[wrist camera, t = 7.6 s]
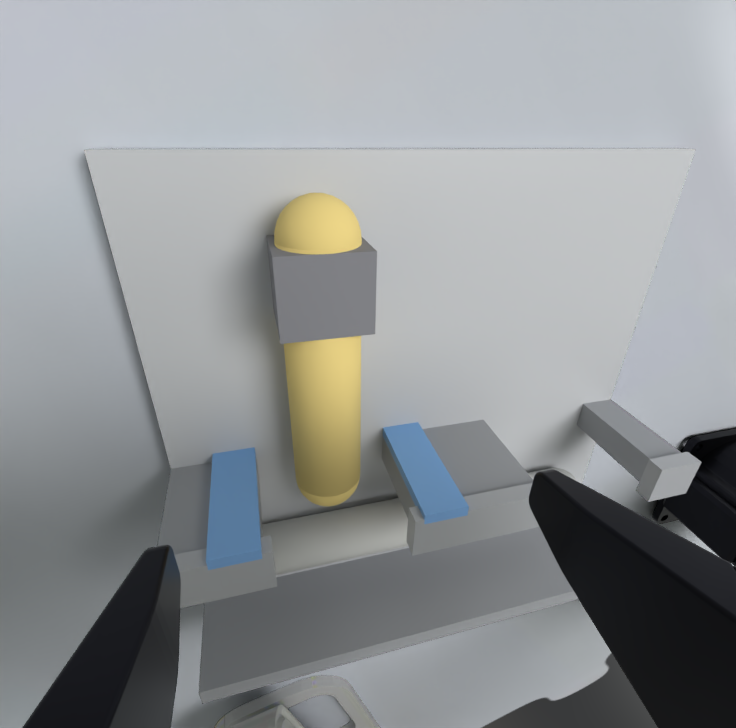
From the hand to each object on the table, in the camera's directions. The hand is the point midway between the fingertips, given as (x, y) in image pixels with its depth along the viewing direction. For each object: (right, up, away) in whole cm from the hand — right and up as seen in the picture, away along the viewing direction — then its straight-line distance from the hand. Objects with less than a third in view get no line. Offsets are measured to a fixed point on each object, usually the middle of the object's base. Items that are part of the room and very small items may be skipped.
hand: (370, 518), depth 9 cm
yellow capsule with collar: (-2, +3, +6) cm, 7 cm away
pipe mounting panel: (+2, +2, +9) cm, 9 cm away
